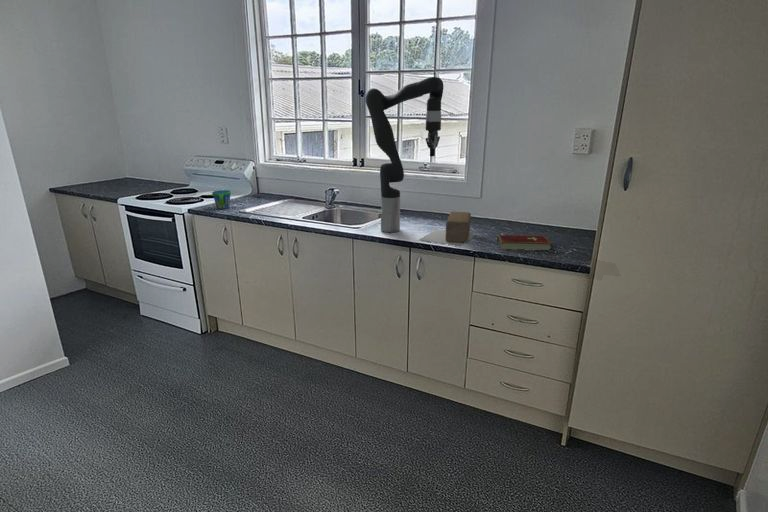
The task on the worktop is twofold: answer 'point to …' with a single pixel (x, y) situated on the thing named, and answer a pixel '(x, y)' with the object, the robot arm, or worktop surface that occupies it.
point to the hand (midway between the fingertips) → (432, 156)
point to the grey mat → (441, 237)
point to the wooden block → (458, 227)
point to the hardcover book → (523, 242)
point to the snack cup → (222, 198)
